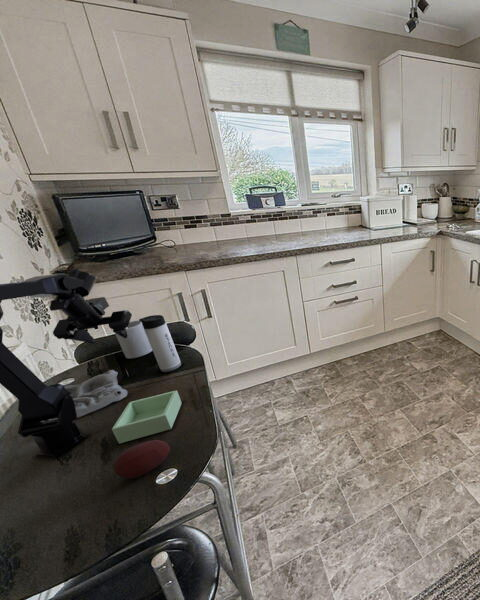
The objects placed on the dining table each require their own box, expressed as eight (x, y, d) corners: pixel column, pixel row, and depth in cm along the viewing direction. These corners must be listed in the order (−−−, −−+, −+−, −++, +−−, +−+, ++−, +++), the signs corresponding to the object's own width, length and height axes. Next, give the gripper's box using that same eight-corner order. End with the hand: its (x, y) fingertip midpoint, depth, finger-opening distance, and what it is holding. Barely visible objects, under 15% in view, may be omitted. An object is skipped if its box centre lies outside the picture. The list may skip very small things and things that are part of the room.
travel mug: (158, 368, 117) (137, 317, 109) (179, 360, 120) (161, 311, 113) (161, 374, 112) (139, 322, 105) (182, 366, 116) (163, 315, 109)
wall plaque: (128, 398, 101) (124, 387, 99) (42, 431, 89) (35, 420, 88) (124, 370, 117) (119, 360, 116) (50, 395, 106) (45, 385, 104)
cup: (140, 358, 125) (128, 330, 121) (119, 358, 126) (107, 330, 122) (159, 346, 134) (148, 319, 129) (139, 347, 135) (128, 320, 130)
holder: (118, 443, 82) (111, 429, 80) (135, 415, 92) (129, 402, 91) (171, 429, 86) (165, 414, 84) (181, 403, 96) (176, 390, 94)
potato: (121, 470, 74) (110, 449, 72) (173, 447, 79) (164, 427, 77) (118, 492, 68) (106, 471, 66) (174, 466, 74) (165, 445, 71)
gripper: (121, 284, 102) (148, 316, 114) (51, 294, 98) (86, 325, 110) (110, 311, 95) (140, 341, 106) (34, 322, 91) (73, 352, 103)
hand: (110, 339), depth 107 cm, fingers open, 9 cm apart
